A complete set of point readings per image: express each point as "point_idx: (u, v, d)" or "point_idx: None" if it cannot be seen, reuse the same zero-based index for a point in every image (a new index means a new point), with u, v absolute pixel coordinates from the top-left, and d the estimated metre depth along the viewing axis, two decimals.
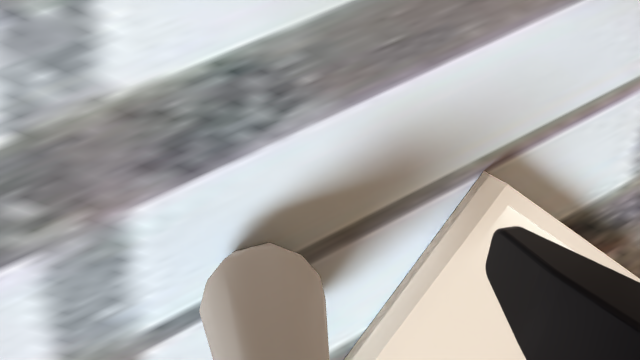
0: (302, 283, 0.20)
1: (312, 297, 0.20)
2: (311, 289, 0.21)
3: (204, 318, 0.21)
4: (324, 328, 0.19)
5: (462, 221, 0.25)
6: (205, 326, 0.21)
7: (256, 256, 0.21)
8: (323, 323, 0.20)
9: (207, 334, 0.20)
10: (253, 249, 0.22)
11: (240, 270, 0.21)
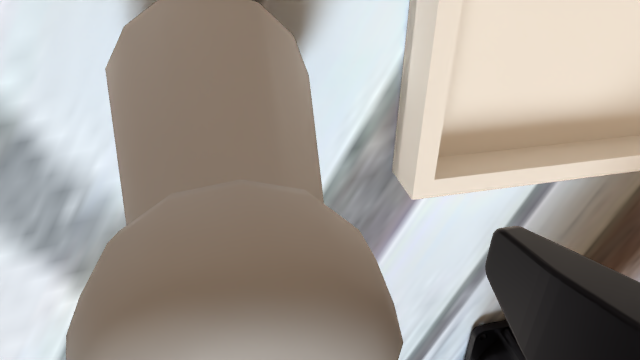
0: (207, 20, 0.11)
1: (233, 32, 0.11)
2: (228, 22, 0.12)
3: None
4: (263, 64, 0.11)
5: None
6: None
7: (132, 26, 0.13)
8: (261, 58, 0.11)
9: None
10: None
11: (118, 59, 0.12)
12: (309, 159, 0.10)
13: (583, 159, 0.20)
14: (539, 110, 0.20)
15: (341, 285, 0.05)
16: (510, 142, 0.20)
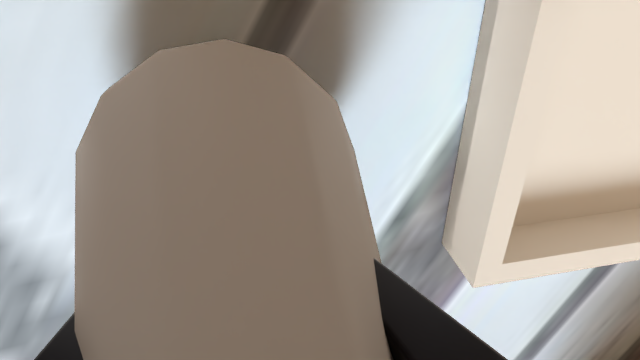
0: (220, 100, 0.08)
1: (260, 118, 0.07)
2: (252, 101, 0.08)
3: None
4: (310, 180, 0.07)
5: None
6: None
7: (111, 98, 0.09)
8: (306, 167, 0.07)
9: None
10: (111, 87, 0.09)
11: (90, 148, 0.09)
12: None
13: None
14: (627, 170, 0.16)
15: None
16: (588, 208, 0.16)
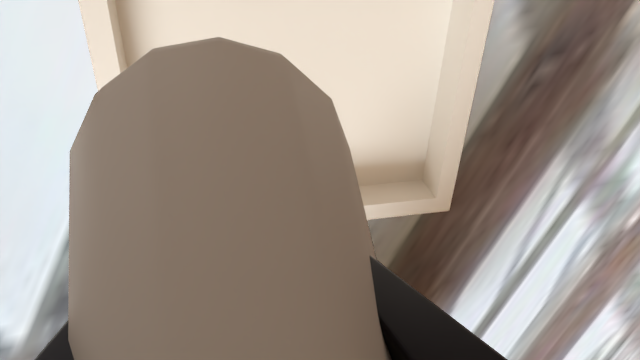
0: (215, 97, 0.08)
1: (255, 115, 0.07)
2: (247, 98, 0.08)
3: None
4: (305, 177, 0.07)
5: None
6: None
7: (106, 96, 0.09)
8: (301, 164, 0.07)
9: None
10: (105, 86, 0.09)
11: (84, 147, 0.08)
12: None
13: None
14: None
15: None
16: None
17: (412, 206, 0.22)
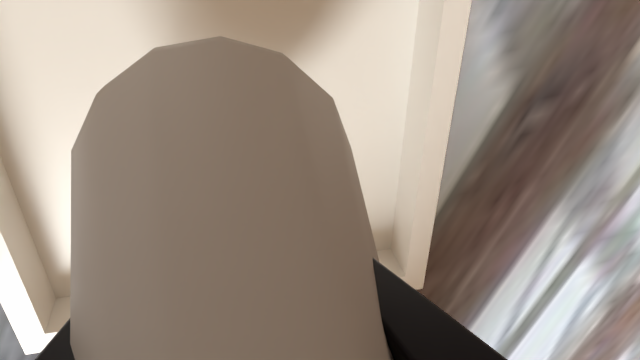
0: (216, 96, 0.08)
1: (257, 114, 0.07)
2: (248, 97, 0.08)
3: None
4: (307, 176, 0.07)
5: None
6: None
7: (107, 96, 0.09)
8: (303, 163, 0.07)
9: None
10: (106, 84, 0.09)
11: (85, 146, 0.08)
12: None
13: None
14: None
15: None
16: None
17: None
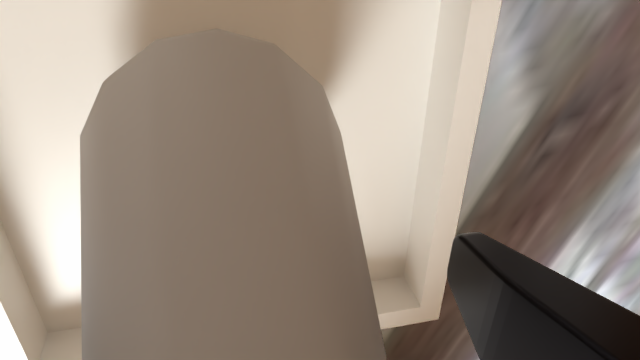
0: (211, 82, 0.08)
1: (247, 98, 0.08)
2: (240, 83, 0.09)
3: None
4: (292, 152, 0.07)
5: None
6: None
7: (112, 84, 0.09)
8: (288, 141, 0.08)
9: None
10: (112, 74, 0.10)
11: (93, 130, 0.09)
12: (363, 301, 0.07)
13: None
14: None
15: None
16: None
17: (390, 318, 0.17)
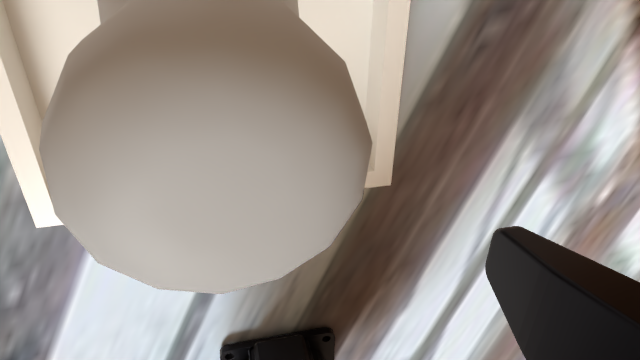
0: None
1: None
2: None
3: None
4: None
5: None
6: None
7: None
8: None
9: None
10: None
11: None
12: None
13: None
14: None
15: (306, 53, 0.06)
16: None
17: None
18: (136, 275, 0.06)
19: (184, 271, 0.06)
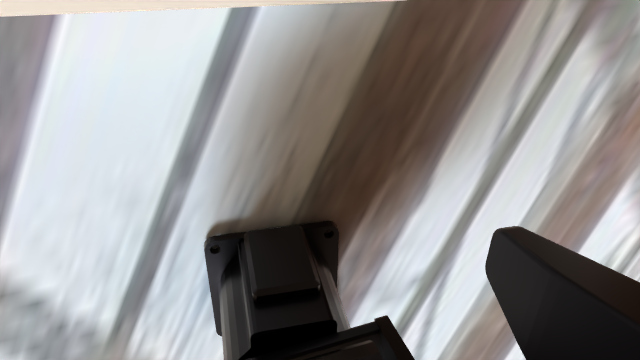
0: None
1: None
2: None
3: None
4: None
5: None
6: None
7: None
8: None
9: None
10: None
11: None
12: None
13: None
14: None
15: None
16: None
17: None
18: None
19: None
